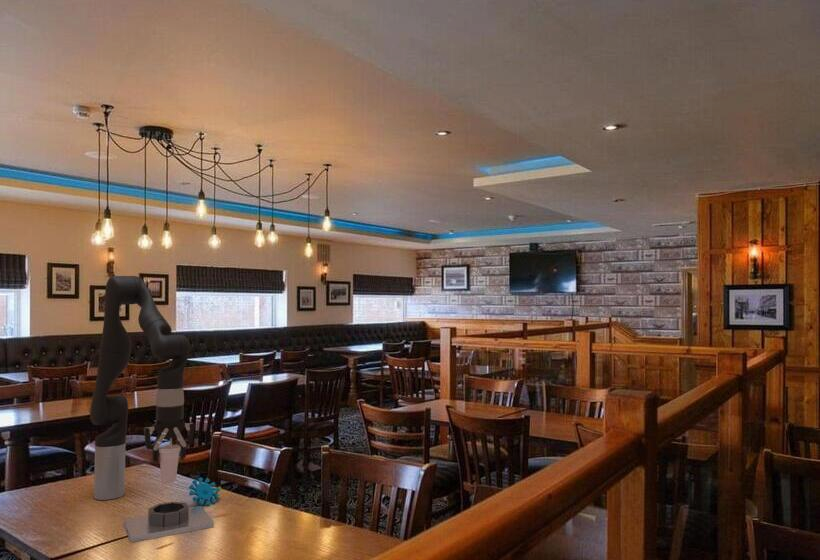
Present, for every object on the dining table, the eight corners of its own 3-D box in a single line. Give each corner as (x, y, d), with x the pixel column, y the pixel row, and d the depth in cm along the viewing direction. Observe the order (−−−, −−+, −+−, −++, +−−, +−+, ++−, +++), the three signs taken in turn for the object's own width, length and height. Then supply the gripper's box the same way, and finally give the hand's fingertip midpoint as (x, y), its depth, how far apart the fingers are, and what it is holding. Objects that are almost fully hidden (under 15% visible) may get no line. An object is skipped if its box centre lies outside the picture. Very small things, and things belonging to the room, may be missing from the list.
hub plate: (123, 523, 177) (123, 506, 177) (201, 510, 188) (201, 494, 189) (130, 542, 163) (130, 523, 163) (213, 527, 175) (214, 509, 175)
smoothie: (185, 478, 178) (186, 430, 179) (170, 484, 172) (170, 435, 173) (167, 476, 180) (168, 429, 181) (151, 482, 174) (152, 433, 175)
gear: (195, 505, 188) (187, 477, 194) (186, 515, 191) (179, 488, 197) (226, 501, 196) (218, 475, 202) (218, 512, 199) (210, 485, 205)
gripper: (192, 399, 184) (192, 455, 183) (141, 403, 177) (140, 461, 176) (198, 403, 178) (197, 460, 177) (145, 407, 170) (144, 467, 170)
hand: (169, 461), depth 177 cm, fingers closed on smoothie, 6 cm apart
